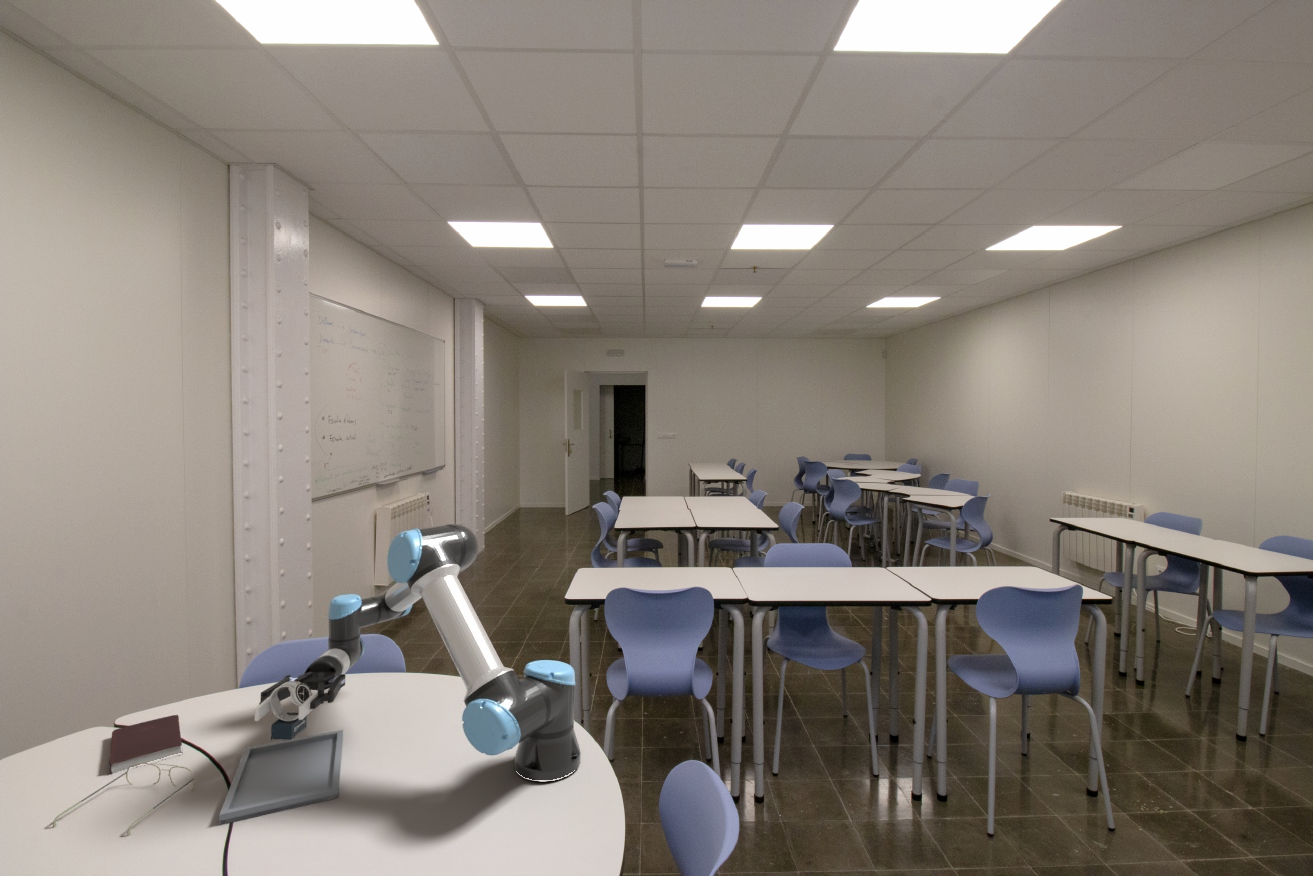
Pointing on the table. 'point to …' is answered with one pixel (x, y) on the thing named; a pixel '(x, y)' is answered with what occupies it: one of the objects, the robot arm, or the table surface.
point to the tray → (284, 776)
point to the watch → (288, 722)
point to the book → (144, 742)
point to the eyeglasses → (131, 783)
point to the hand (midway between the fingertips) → (278, 714)
